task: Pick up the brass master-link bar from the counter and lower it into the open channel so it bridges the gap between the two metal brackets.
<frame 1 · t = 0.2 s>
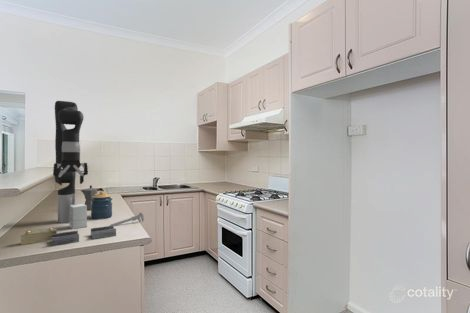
hand: (70, 184, 129), 28 cm above the countertop, fingers open, 8 cm apart
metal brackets: (85, 238, 135), on the countertop
master link: (39, 241, 130), on the countertop
canister: (101, 217, 178), on the countertop
coffeepot: (92, 209, 200), on the countertop
caliper: (126, 224, 162), on the countertop
supplement box: (78, 226, 155), on the countertop
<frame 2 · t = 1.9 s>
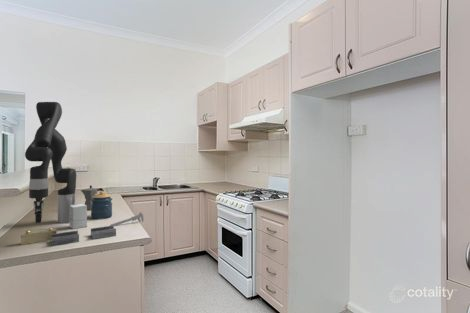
hand: (38, 220, 130), 10 cm above the countertop, fingers open, 8 cm apart
nothing on the countertop moved.
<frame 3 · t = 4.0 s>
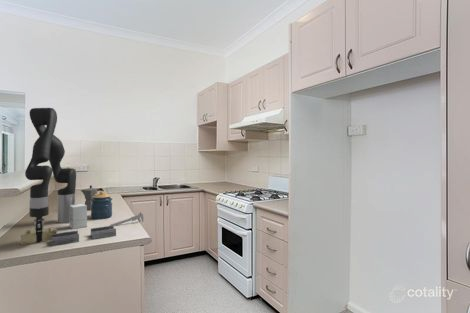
hand: (39, 240, 130), 0 cm above the countertop, fingers closed on master link, 3 cm apart
master link: (39, 241, 130), on the countertop, touching gripper
everything else where it was.
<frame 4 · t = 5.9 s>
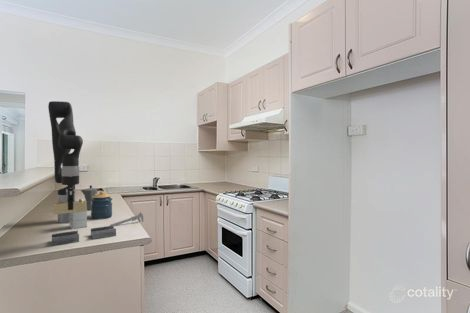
hand: (70, 209, 133), 15 cm above the countertop, fingers closed on master link, 3 cm apart
master link: (70, 212, 133), point 14 cm above the countertop, touching gripper
everything else where it was.
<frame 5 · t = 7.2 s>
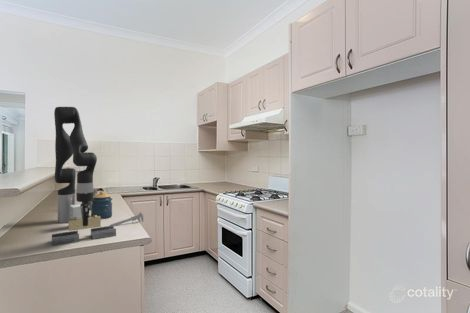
hand: (84, 224, 135), 7 cm above the countertop, fingers closed on master link, 3 cm apart
master link: (84, 227, 135), point 5 cm above the countertop, touching gripper
everything else where it was.
when the fingers open (4 cm above the countertop, at t = 8.3 s): master link stays where it is, resting on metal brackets.
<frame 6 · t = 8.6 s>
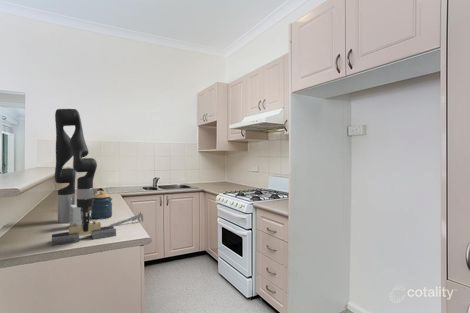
hand: (85, 229, 135), 4 cm above the countertop, fingers open, 6 cm apart
master link: (84, 234, 135), point 2 cm above the countertop, touching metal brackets
everything else where it was.
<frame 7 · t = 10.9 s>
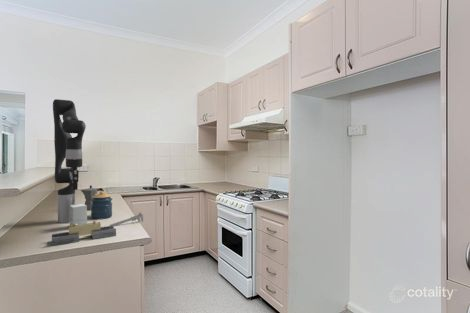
hand: (74, 188, 140), 25 cm above the countertop, fingers open, 8 cm apart
nothing on the countertop moved.
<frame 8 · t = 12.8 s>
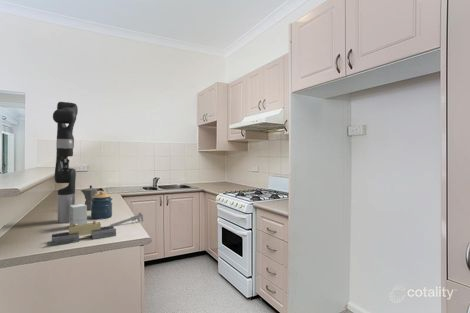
hand: (64, 177, 143), 30 cm above the countertop, fingers open, 8 cm apart
nothing on the countertop moved.
at the end: master link 0.1 cm off-centre on the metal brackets, point 2.0 cm above the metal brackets's base; master link tilted 0°; the gripper is holding nothing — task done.
